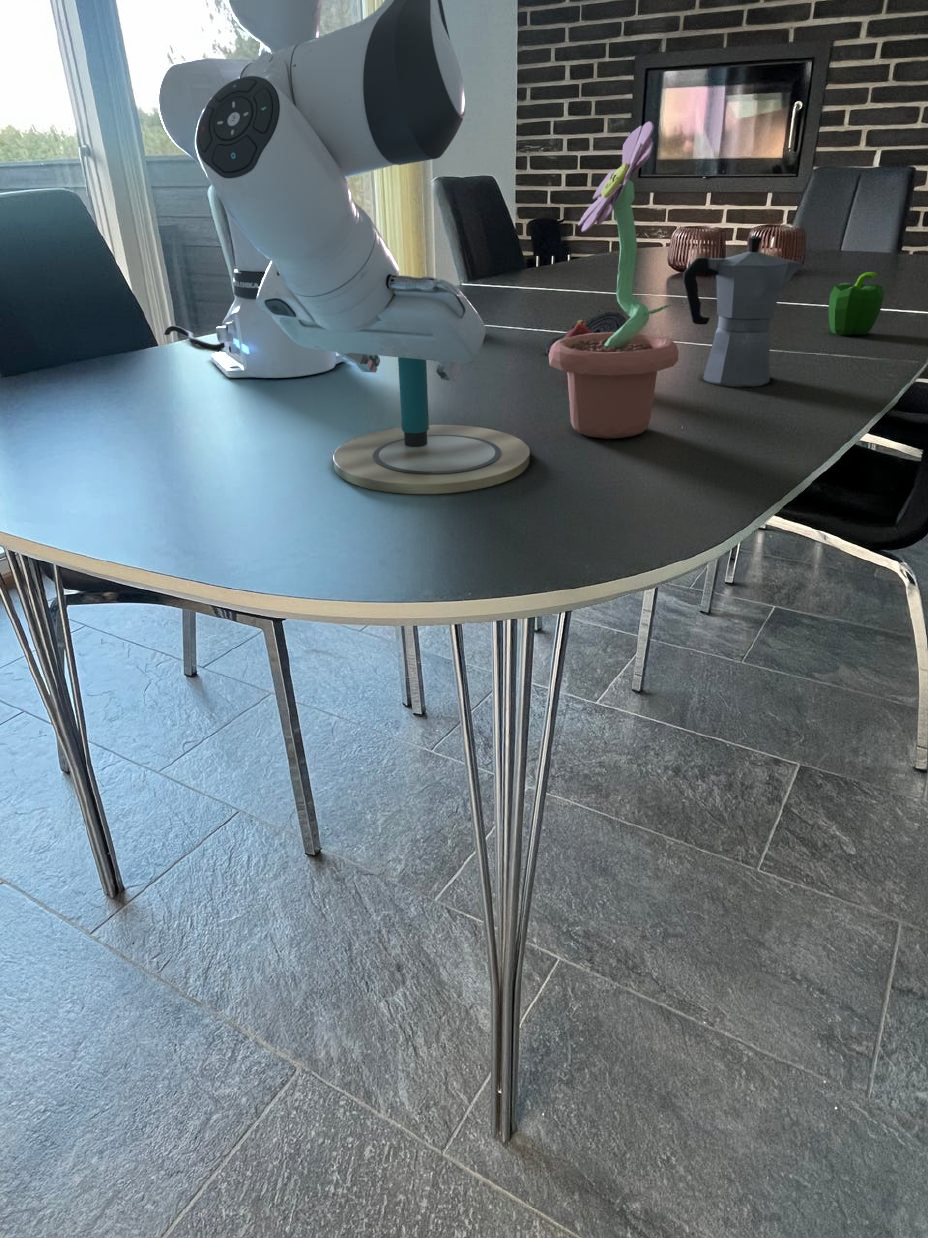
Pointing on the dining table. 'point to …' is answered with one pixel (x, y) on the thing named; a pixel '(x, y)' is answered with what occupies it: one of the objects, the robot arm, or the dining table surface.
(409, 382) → the marker
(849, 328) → the bell pepper
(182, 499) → the dining table surface
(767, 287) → the coffeepot
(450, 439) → the round wooden trivet
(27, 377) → the dining table surface
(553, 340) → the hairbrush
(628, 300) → the decorative flower
